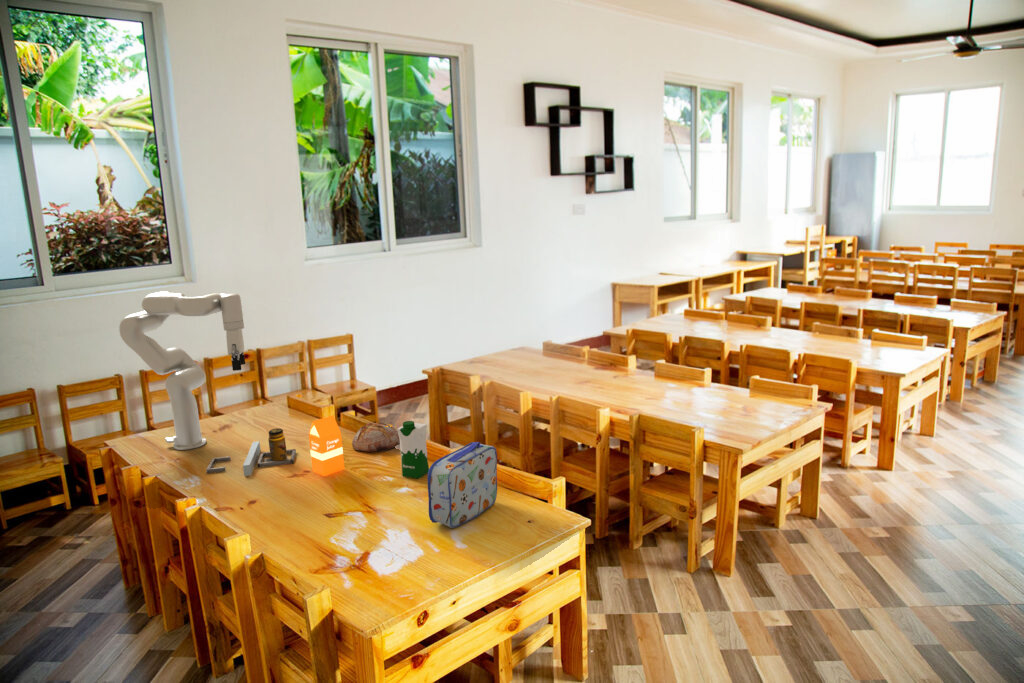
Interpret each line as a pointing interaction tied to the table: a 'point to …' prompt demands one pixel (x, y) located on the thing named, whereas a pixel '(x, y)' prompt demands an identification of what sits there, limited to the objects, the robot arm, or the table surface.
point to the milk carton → (413, 449)
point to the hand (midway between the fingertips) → (239, 367)
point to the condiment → (277, 446)
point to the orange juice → (326, 446)
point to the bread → (376, 438)
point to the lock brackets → (259, 464)
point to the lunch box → (462, 484)
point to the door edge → (251, 458)
